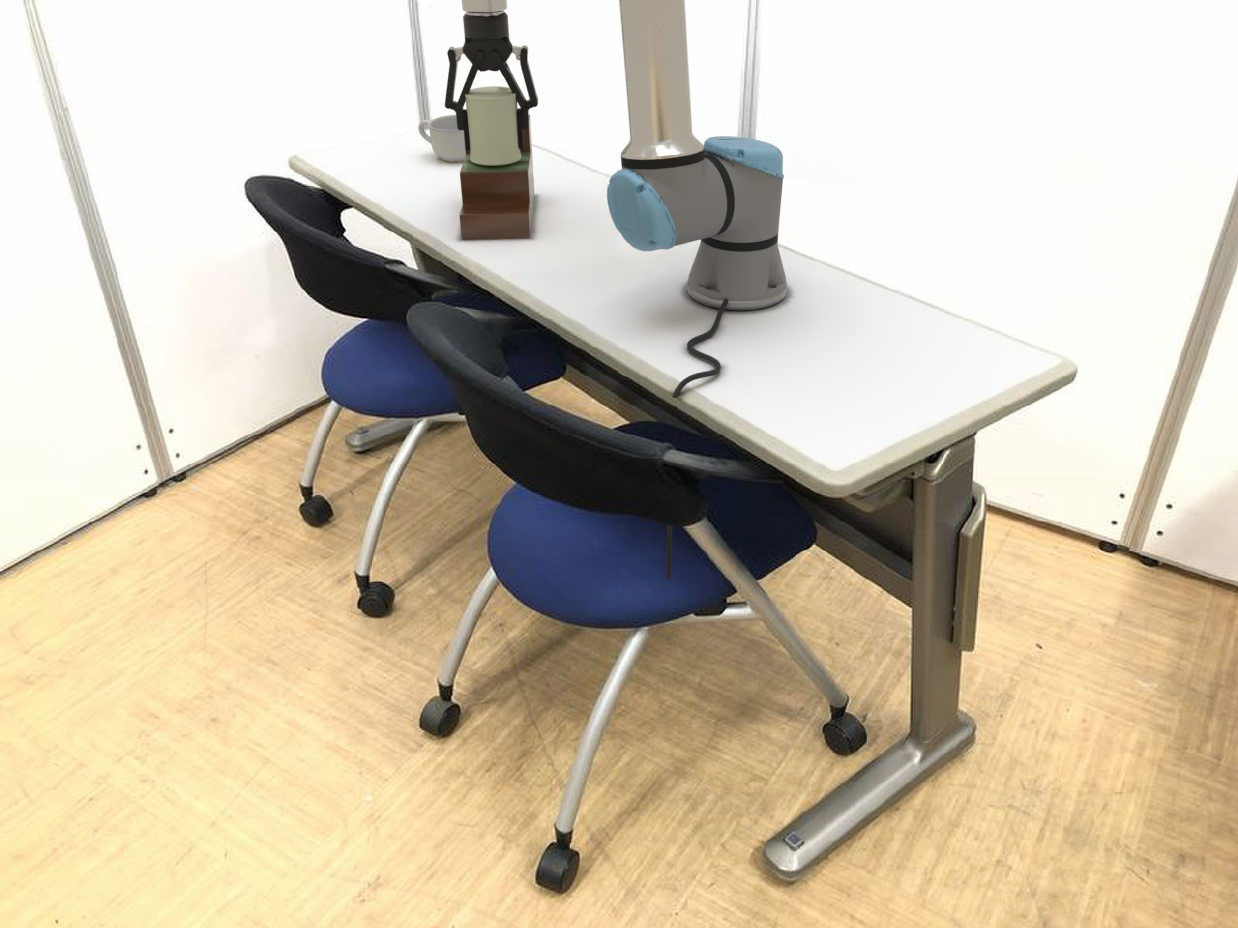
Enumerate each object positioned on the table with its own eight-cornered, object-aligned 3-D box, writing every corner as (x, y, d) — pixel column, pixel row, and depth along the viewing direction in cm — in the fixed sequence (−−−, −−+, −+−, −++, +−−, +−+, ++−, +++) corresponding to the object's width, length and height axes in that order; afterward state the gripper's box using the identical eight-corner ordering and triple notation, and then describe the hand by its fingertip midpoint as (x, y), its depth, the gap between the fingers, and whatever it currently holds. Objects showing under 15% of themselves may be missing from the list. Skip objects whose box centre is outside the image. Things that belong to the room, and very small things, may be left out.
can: (532, 157, 188) (528, 88, 182) (494, 169, 183) (488, 98, 176) (497, 148, 194) (492, 81, 187) (459, 159, 188) (453, 90, 182)
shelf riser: (530, 238, 184) (525, 150, 176) (461, 240, 184) (453, 151, 175) (534, 195, 204) (530, 114, 196) (472, 197, 204) (465, 116, 196)
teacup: (491, 155, 228) (489, 118, 224) (460, 168, 220) (456, 129, 216) (442, 147, 235) (439, 110, 230) (410, 159, 227) (405, 121, 223)
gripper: (550, 7, 179) (555, 141, 191) (423, 9, 178) (436, 143, 190) (549, 15, 172) (555, 152, 184) (417, 17, 172) (432, 155, 184)
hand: (495, 147), depth 187 cm, fingers closed on can, 9 cm apart
